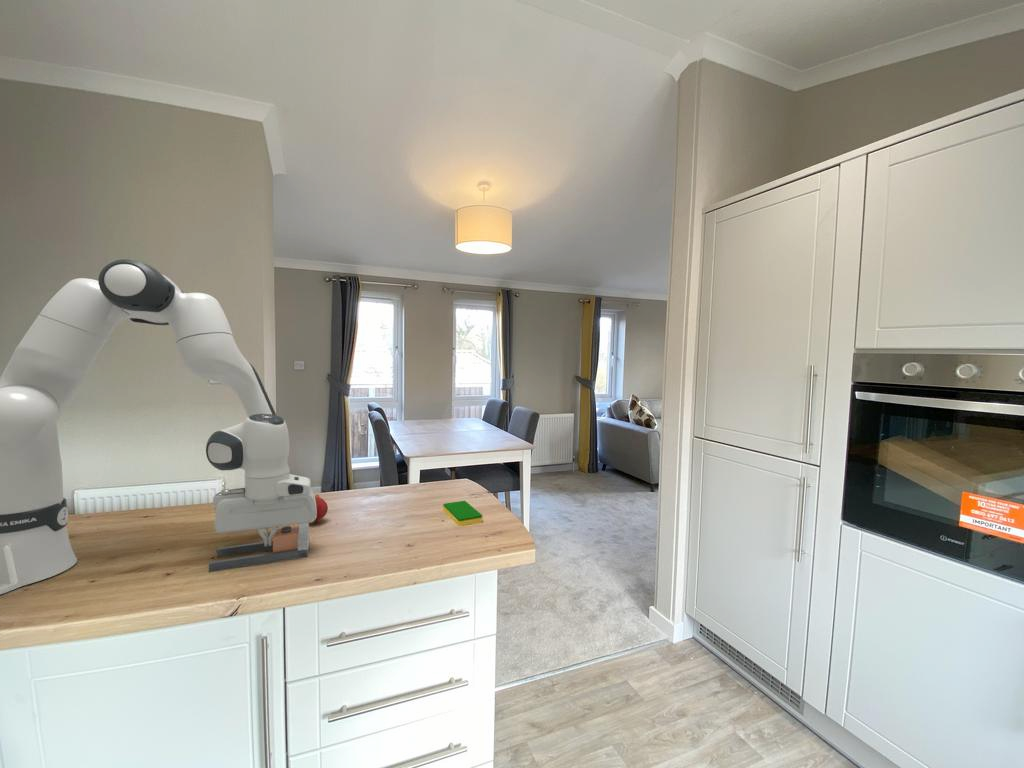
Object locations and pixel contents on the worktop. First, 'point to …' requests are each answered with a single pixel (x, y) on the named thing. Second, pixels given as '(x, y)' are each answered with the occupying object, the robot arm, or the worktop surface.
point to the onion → (320, 508)
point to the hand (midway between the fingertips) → (268, 545)
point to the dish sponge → (462, 513)
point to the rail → (261, 558)
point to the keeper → (285, 539)
